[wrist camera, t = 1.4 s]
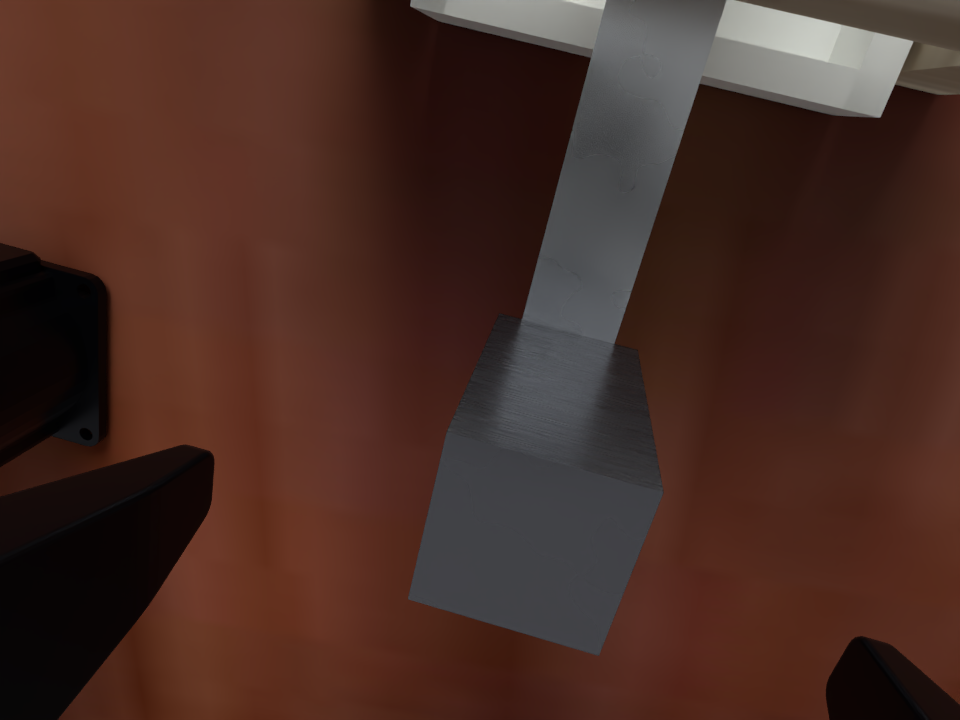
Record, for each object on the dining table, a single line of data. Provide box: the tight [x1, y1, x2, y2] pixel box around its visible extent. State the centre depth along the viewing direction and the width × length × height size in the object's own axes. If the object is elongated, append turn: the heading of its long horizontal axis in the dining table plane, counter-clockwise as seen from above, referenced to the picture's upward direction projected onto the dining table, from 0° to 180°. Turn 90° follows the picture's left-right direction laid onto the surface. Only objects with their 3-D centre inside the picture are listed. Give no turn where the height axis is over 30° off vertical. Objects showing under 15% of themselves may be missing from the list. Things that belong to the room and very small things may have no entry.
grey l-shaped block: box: [408, 0, 727, 656], centre depth 10 cm, size 18×3×8 cm, turn 167°
